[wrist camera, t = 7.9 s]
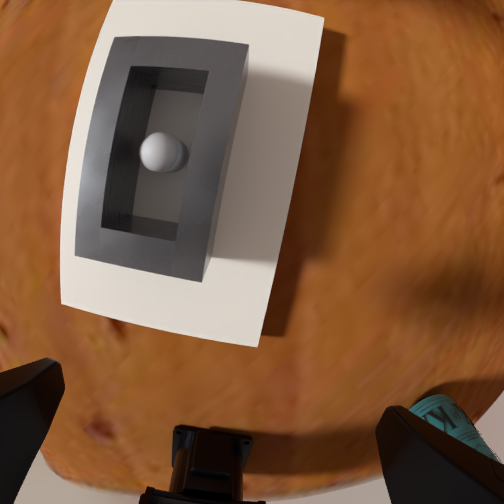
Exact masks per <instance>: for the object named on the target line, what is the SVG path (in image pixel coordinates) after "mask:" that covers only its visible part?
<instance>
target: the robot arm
mask: <svg viewBox="0 0 504 504" xmlns="http://www.w3.org/2000/svg"><path fill="white" fill-rule="evenodd" d="M64 391H65V383H64V378H63V373H62V367H61V364H60V363H59V362H58V361H56V360H54V359H51V358H43V359H41V360H38V361H35V362H32V363H29V364H26V365H22V366H19V367H16V368H13V369H10V370H7V371H4V372H1V373H0V504H14V501H15V499H16V496H17V494H18V492H19V490H20V488H21V486H22V483H23V481H24V479H25V477H26V475H27V472H28V471H29V468H30V467H31V464H32V462H33V460H34V459H35V457H36V455H37V452H38V451H39V449H40V447H41V445H42V443H43V441H44V439H45V437H46V435H47V433H48V431H49V428H50V426H51V423H52V421H53V418H54V416H55V413H56V411H57V408H58V406H59V403H60V401H61V399H62V396H63V394H64ZM376 439H377V444H378V449H379V455H380V460H381V466H382V471H383V475H384V479H385V483H386V486H387V490H388V493H389V496H390V500H391V503H392V504H504V464H502V463H500V462H498V461H496V460H494V459H492V458H489V457H488V456H487V455H485V454H483V453H481V452H479V451H477V450H476V449H474V448H472V447H470V446H468V445H467V444H465V443H463V442H461V441H460V440H458V439H456V438H454V437H453V436H451V435H449V434H448V433H446V432H444V431H442V430H441V429H439V428H437V427H436V426H434V425H432V424H431V423H429V422H427V421H426V420H424V419H422V418H421V417H419V416H417V415H416V414H414V413H412V412H411V411H409V410H407V409H406V408H404V407H403V406H400V405H397V406H389V407H387V408H386V409H385V411H384V413H383V415H382V417H381V419H380V421H379V422H378V424H377V426H376ZM252 444H253V439H252V437H250V436H243V435H234V434H226V433H219V432H212V431H206V430H200V429H194V428H189V427H184V426H175V427H174V430H173V445H172V467H173V472H172V477H171V482H170V488H169V492H167V491H162V490H157V489H155V488H153V487H149V486H147V489H146V491H145V494H144V493H143V494H142V495H141V496H140V500H139V504H266V502H265V501H258V502H251V501H243V470H244V467H245V464H246V462H247V459H248V456H249V453H250V450H251V447H252Z"/></svg>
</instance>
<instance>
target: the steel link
mask: <svg viewBox="0 0 504 504" xmlns="http://www.w3.org/2000/svg"><path fill="white" fill-rule="evenodd" d="M248 62H249V44H243V43H236V42H229V41H221V40H212V39H201V38H188V37H170V36H124V37H114V40H113V42H112V45H111V48H110V51H109V54H108V57H107V60H106V64H105V67H104V70H103V74H102V77H101V81H100V84H99V88H98V92H97V95H96V99H95V104H94V108H93V112H92V116H91V121H90V126H89V131H88V136H87V141H86V146H85V152H84V158H83V165H82V172H81V179H80V187H79V196H78V206H77V217H76V232H75V256H78V257H83V258H87V259H91V260H95V261H100V262H104V263H109V264H113V265H118V266H122V267H127V268H132V269H136V270H141V271H146V272H150V273H155V274H160V275H165V276H170V277H175V278H180V279H185V280H190V281H195V282H201V283H202V281H203V278H204V276H205V273H206V270H207V268H208V265H209V263H210V260H211V257H212V252H213V246H214V240H215V234H216V229H217V223H218V217H219V212H220V207H221V201H222V196H223V191H224V185H225V180H226V175H227V170H228V165H229V160H230V155H231V150H232V145H233V140H234V135H235V131H236V126H237V121H238V117H239V112H240V107H241V103H242V98H243V94H244V90H245V85H246V81H247V77H248ZM156 89H158V90H171V91H181V92H191V93H199V94H203V98H202V103H201V107H200V111H199V116H198V120H197V125H196V129H195V134H194V139H193V144H192V149H191V154H190V159H189V164H188V169H187V175H186V180H185V186H184V192H183V198H182V204H181V210H180V216H179V223H175V222H169V221H164V220H158V219H152V218H147V217H141V216H135V215H133V207H134V199H135V192H136V186H137V179H138V173H139V167H140V161H141V160H140V157H139V149H140V145H141V143H142V142H143V140H144V139H145V135H146V130H147V126H148V121H149V117H150V112H151V108H152V104H153V100H154V96H155V92H156Z"/></svg>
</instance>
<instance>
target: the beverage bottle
mask: <svg viewBox="0 0 504 504" xmlns="http://www.w3.org/2000/svg"><path fill="white" fill-rule="evenodd" d="M456 404H457V402H456ZM456 404H455V403H454V401H453V400H452V399H451V397H450V398H449V397H448V396H446V395H443V394H437V395H433V396H430V397H427V398H425V399H423V400H422V401H420V402H418V403H417V404H416V405H414V406H413V407H412V408H410V409H409V411H411V412H412V413H414V414H416V415H417V416H419V417H421V418H422V419H424V420H426V421H427V422H429V423H431V424H432V425H434V426H436V427H437V428H439V429H441V430H442V431H444V432H446V433H448V434H449V435H451V436H453V437H454V438H456V439H458V440H460V441H461V442H463V443H465V444H467V445H468V446H470V447H472V448H474V449H476V450H477V451H479V452H481V453H483V454H485V455H487V456H488V457H489V458H492V459H494V460H496V461H498V459H497V458H496V457H495V455H494V454H493V452H492V451H491V450H490V448H489V447H488V446H487V444H486V443H485V442H484V440H483V439H482V437H481V436H480V434H478V431H477V430H476V428H475V427H474V424H473V422H472V421H471V420H470V419H469V418H468V416H467V415H466V414H465V412H464V411H463V410H462V408H461V407H460V408H461V409H460V408H459V407H458V406H457V405H456ZM467 418H468V419H469V420H468V419H467ZM469 421H470V422H471V423H470V422H469ZM498 462H499V461H498Z"/></svg>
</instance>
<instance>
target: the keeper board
mask: <svg viewBox="0 0 504 504" xmlns="http://www.w3.org/2000/svg"><path fill="white" fill-rule="evenodd" d="M323 24H324V18H323V17H319V16H315V15H312V14H308V13H304V12H299V11H295V10H291V9H286V8H281V7H276V6H270V5H265V4H259V3H252V2H245V1H237V0H113V2H112V4H111V7H110V9H109V11H108V14H107V16H106V19H105V21H104V24H103V26H102V29H101V32H100V34H99V37H98V40H97V43H96V45H95V48H94V51H93V54H92V57H91V60H90V64H89V67H88V70H87V74H86V77H85V81H84V84H83V88H82V92H81V96H80V100H79V104H78V108H77V112H76V117H75V121H74V126H73V131H72V137H71V142H70V148H69V154H68V161H67V168H66V175H65V184H64V193H63V204H62V218H61V239H60V283H61V304H64V305H67V306H71V307H74V308H78V309H81V310H84V311H88V312H91V313H95V314H99V315H102V316H106V317H110V318H114V319H118V320H122V321H126V322H130V323H134V324H138V325H142V326H146V327H151V328H155V329H160V330H164V331H169V332H174V333H178V334H183V335H188V336H194V337H199V338H204V339H210V340H215V341H221V342H227V343H233V344H239V345H246V346H252V347H258V343H259V338H260V334H261V330H262V326H263V322H264V317H265V313H266V309H267V305H268V300H269V296H270V292H271V287H272V283H273V279H274V274H275V270H276V265H277V261H278V256H279V252H280V247H281V243H282V238H283V234H284V229H285V224H286V220H287V215H288V210H289V206H290V201H291V196H292V191H293V186H294V181H295V177H296V172H297V167H298V162H299V157H300V152H301V146H302V141H303V136H304V131H305V126H306V121H307V115H308V110H309V105H310V99H311V94H312V88H313V83H314V77H315V71H316V66H317V60H318V54H319V48H320V42H321V36H322V30H323ZM124 36H170V37H188V38H201V39H212V40H221V41H229V42H236V43H243V44H249V62H248V77H247V81H246V85H245V90H244V94H243V98H242V103H241V107H240V112H239V117H238V121H237V126H236V131H235V135H234V140H233V145H232V150H231V155H230V160H229V165H228V170H227V175H226V180H225V185H224V191H223V196H222V201H221V207H220V212H219V217H218V223H217V229H216V234H215V240H214V246H213V252H212V257H211V260H210V263H209V265H208V268H207V270H206V273H205V276H204V278H203V281H202V283H201V282H195V281H190V280H185V279H180V278H175V277H170V276H165V275H160V274H155V273H150V272H146V271H141V270H136V269H132V268H127V267H122V266H118V265H113V264H109V263H104V262H100V261H95V260H91V259H87V258H83V257H78V256H75V232H76V217H77V206H78V196H79V187H80V179H81V172H82V165H83V158H84V152H85V146H86V141H87V136H88V131H89V126H90V121H91V116H92V112H93V108H94V104H95V99H96V95H97V92H98V88H99V84H100V81H101V77H102V74H103V70H104V67H105V64H106V60H107V57H108V54H109V51H110V48H111V45H112V42H113V40H114V37H124ZM202 98H203V94H199V93H191V92H181V91H171V90H158V89H156V92H155V96H154V100H153V104H152V108H151V112H150V117H149V121H148V126H147V130H146V135H145V139H144V140H143V142H142V143H141V145H140V149H139V157H140V160H141V161H140V167H139V173H138V179H137V186H136V192H135V199H134V207H133V215H135V216H141V217H147V218H152V219H158V220H164V221H169V222H175V223H179V216H180V210H181V204H182V198H183V192H184V186H185V180H186V175H187V169H188V164H189V159H190V154H191V149H192V144H193V139H194V134H195V129H196V125H197V120H198V116H199V111H200V107H201V103H202Z"/></svg>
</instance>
